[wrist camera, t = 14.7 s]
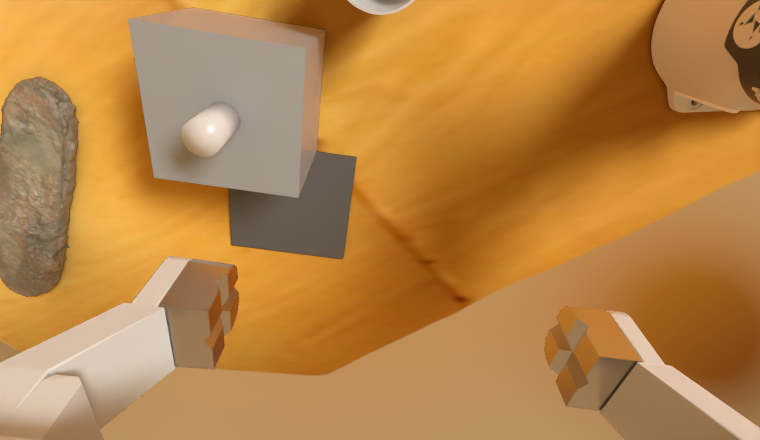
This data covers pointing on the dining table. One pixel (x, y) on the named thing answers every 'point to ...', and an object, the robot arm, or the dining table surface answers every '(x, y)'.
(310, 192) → the mat
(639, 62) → the dining table surface
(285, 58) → the cover
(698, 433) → the robot arm
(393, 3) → the cup
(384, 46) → the dining table surface
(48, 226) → the elongated rock
